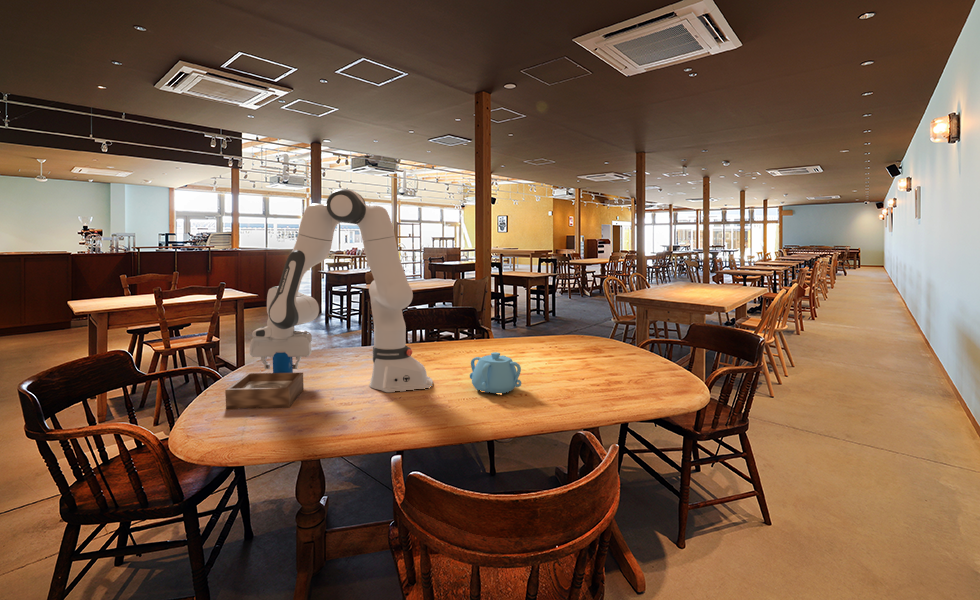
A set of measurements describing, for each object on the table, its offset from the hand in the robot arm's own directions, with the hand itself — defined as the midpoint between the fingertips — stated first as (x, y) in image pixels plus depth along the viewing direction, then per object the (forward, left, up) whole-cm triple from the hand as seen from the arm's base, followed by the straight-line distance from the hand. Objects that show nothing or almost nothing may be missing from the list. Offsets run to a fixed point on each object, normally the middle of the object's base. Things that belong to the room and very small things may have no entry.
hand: (281, 368), depth 165 cm
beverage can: (0, 0, -6) cm, 6 cm away
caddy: (0, +17, -5) cm, 18 cm away
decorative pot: (-75, +14, -6) cm, 77 cm away
